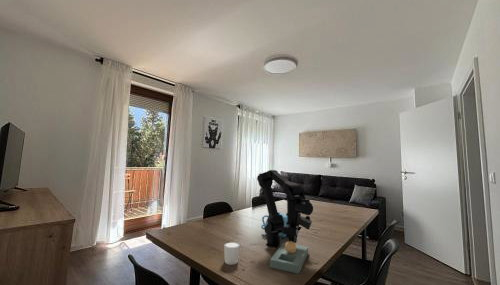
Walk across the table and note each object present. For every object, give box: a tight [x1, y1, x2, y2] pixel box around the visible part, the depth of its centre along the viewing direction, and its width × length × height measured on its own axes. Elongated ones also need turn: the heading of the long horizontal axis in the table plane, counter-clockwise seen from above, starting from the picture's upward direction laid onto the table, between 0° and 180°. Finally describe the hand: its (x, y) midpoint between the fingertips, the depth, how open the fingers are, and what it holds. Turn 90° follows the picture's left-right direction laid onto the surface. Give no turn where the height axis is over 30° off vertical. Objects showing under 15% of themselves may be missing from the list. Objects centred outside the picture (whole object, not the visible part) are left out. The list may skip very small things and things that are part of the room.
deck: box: [269, 242, 309, 275], centre depth 96 cm, size 12×22×3 cm, turn 156°
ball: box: [285, 240, 297, 253], centre depth 96 cm, size 5×5×5 cm
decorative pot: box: [260, 211, 287, 238], centre depth 131 cm, size 16×16×14 cm
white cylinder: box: [223, 241, 241, 266], centre depth 93 cm, size 7×7×7 cm
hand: (293, 244), depth 101 cm, fingers open, 5 cm apart
